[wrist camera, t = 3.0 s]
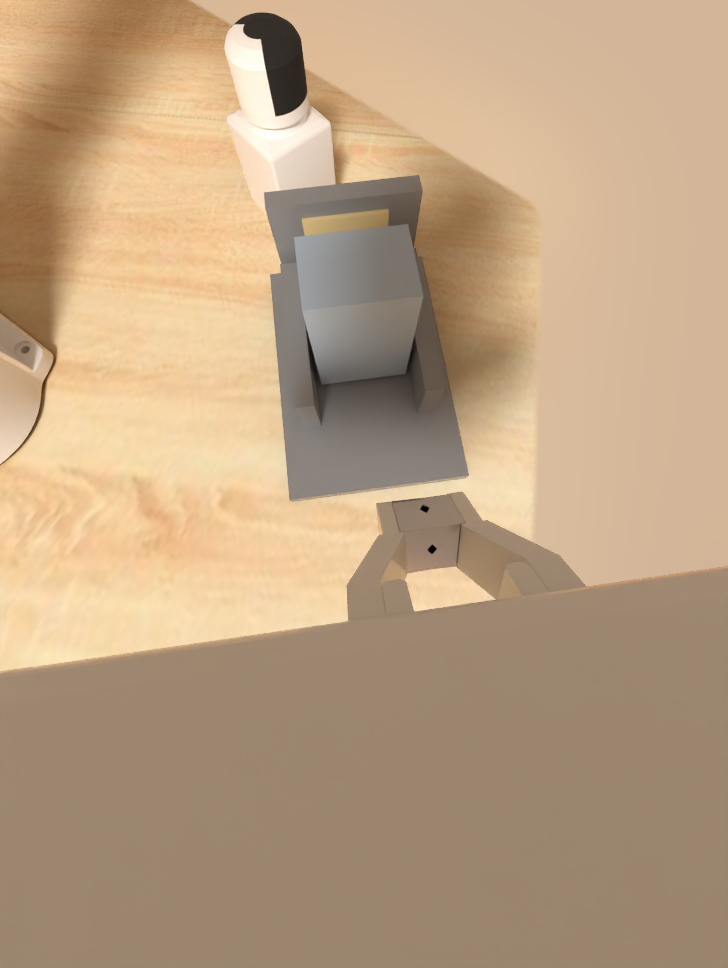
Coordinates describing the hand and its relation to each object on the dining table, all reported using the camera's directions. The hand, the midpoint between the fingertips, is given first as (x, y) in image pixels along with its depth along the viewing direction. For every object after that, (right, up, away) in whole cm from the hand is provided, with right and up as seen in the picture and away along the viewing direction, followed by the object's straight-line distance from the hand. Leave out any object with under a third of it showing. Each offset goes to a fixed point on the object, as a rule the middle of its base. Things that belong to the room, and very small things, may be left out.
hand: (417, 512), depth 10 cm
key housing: (-2, +12, +19) cm, 23 cm away
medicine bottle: (-10, +33, +24) cm, 42 cm away
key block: (-2, +14, +18) cm, 23 cm away
